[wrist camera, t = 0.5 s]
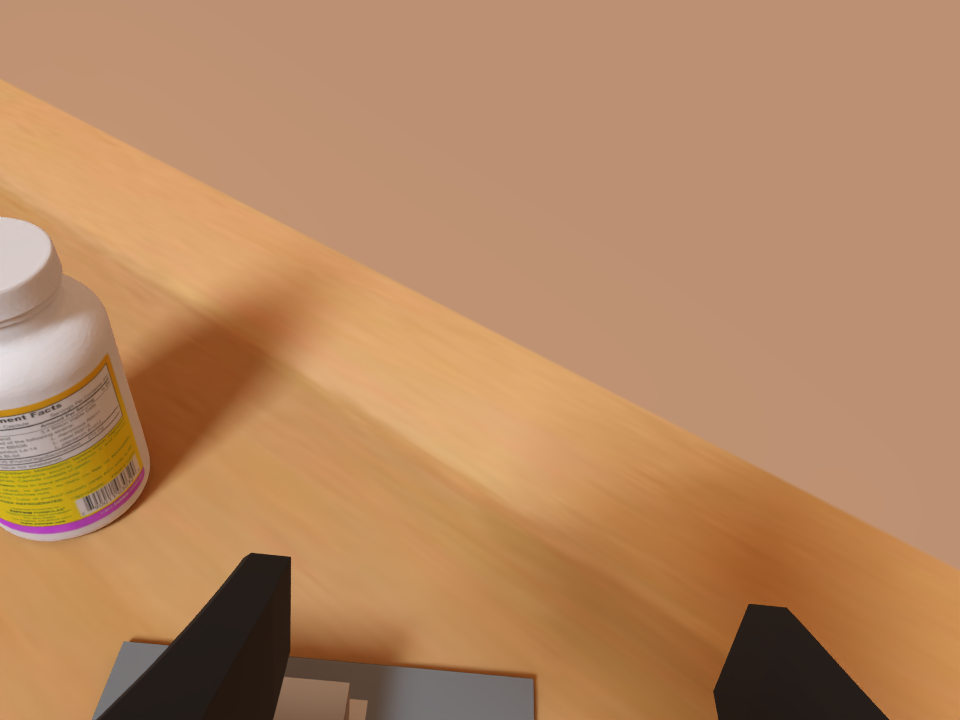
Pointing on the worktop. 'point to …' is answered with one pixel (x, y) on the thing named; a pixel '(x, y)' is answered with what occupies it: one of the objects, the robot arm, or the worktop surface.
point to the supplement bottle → (60, 399)
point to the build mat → (372, 688)
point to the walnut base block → (313, 700)
